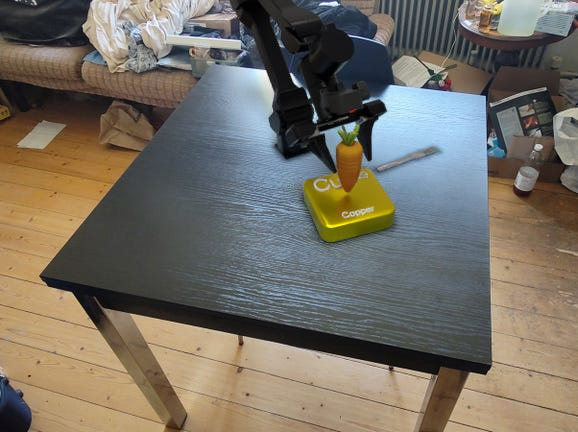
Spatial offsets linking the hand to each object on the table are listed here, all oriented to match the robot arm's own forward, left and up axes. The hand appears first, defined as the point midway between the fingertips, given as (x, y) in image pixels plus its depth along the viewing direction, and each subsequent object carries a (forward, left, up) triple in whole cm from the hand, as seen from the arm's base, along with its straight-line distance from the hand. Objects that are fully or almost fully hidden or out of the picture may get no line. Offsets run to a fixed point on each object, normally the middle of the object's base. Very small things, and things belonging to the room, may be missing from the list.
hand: (353, 167), depth 80 cm
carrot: (0, +2, -7) cm, 8 cm away
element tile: (0, +1, -12) cm, 12 cm away
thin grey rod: (+21, +9, -12) cm, 26 cm away
